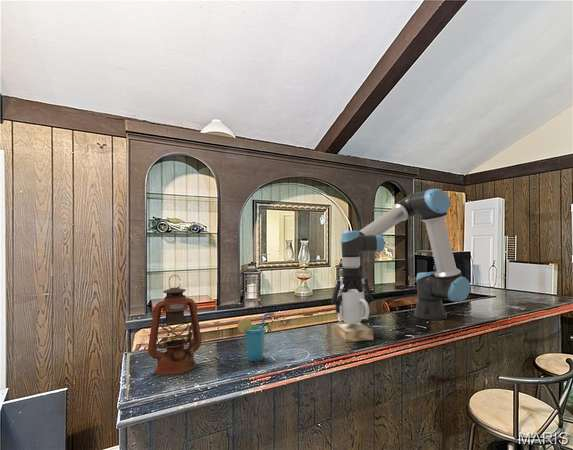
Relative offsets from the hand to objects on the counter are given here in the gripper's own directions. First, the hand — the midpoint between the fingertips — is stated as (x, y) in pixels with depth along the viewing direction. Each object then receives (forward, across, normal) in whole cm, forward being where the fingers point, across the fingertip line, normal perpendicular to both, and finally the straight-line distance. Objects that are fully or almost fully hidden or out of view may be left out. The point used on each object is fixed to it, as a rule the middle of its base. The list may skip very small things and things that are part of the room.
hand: (353, 319), depth 134 cm
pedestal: (+7, 0, 0) cm, 7 cm away
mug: (+1, 0, 0) cm, 1 cm away
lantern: (+7, +69, +15) cm, 71 cm away
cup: (+7, +42, +14) cm, 45 cm away
